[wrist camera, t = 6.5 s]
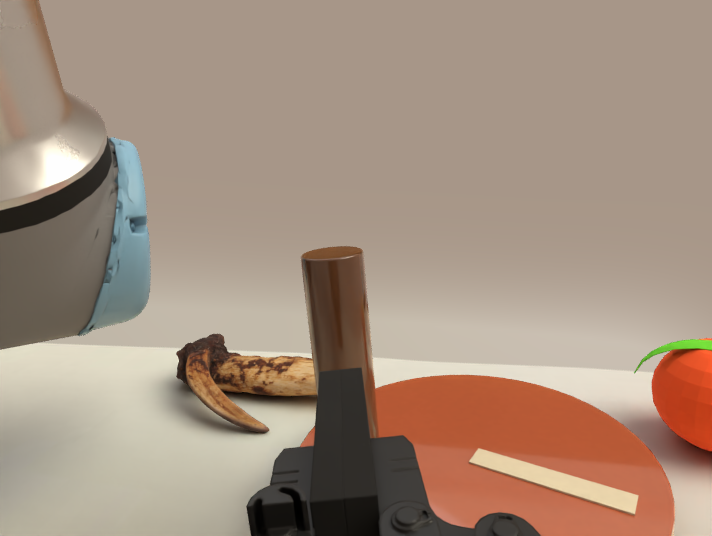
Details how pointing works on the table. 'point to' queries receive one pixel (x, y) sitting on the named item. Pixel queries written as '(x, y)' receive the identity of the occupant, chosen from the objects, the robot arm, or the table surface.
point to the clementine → (685, 389)
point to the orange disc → (490, 430)
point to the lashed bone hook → (240, 377)
